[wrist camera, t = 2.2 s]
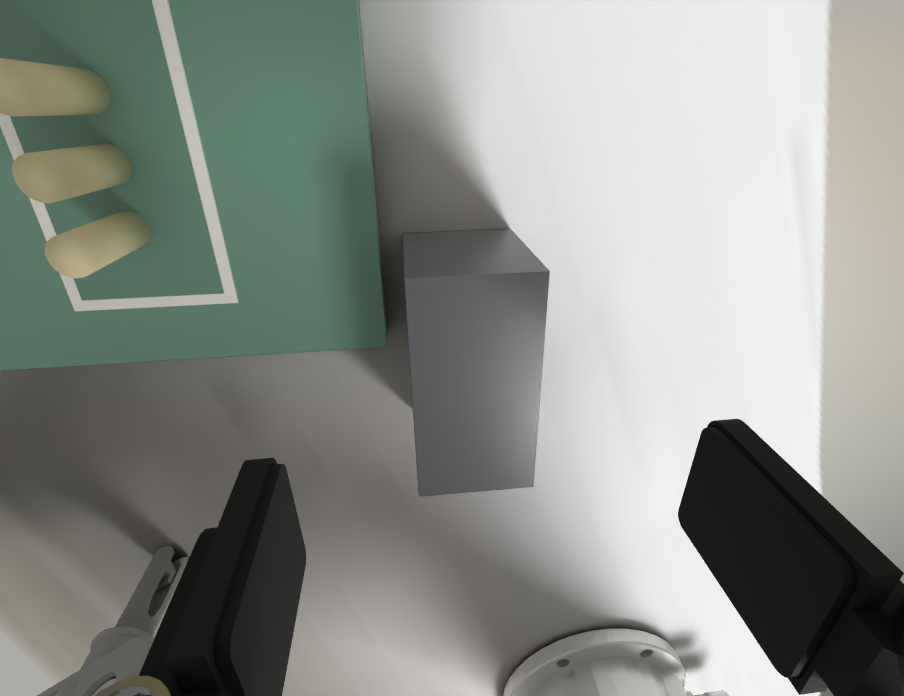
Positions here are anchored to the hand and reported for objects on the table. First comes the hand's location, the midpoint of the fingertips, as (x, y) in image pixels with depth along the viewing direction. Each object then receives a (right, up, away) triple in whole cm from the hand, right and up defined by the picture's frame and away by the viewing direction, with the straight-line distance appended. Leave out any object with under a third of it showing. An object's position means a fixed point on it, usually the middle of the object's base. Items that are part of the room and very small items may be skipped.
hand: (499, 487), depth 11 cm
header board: (-12, +10, +6) cm, 16 cm away
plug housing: (-1, +4, +10) cm, 11 cm away
